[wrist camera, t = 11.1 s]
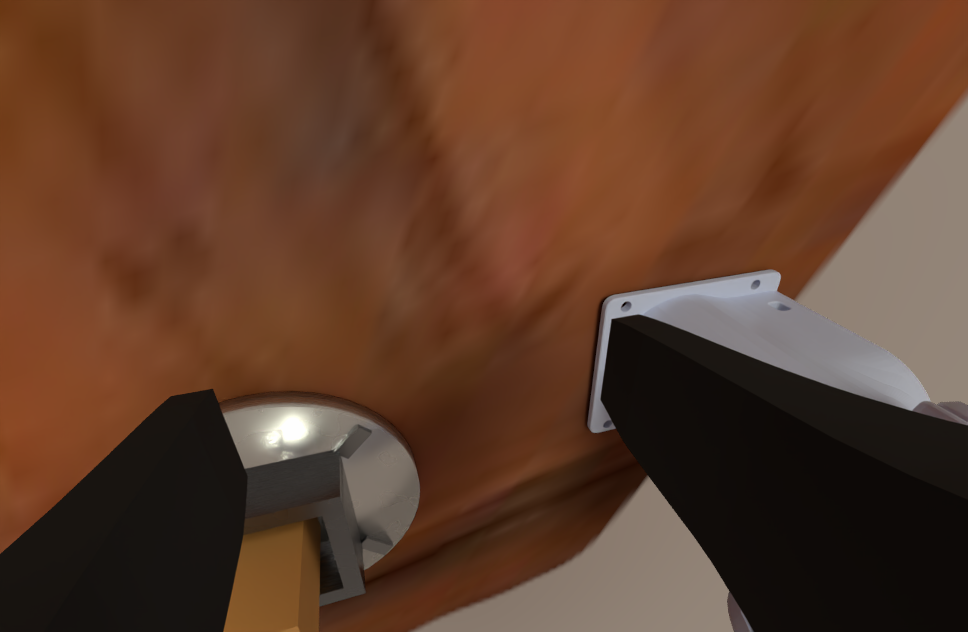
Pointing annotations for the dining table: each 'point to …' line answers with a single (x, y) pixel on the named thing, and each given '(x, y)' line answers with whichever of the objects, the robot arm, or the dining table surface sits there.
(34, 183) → the dining table surface
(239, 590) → the orange square peg
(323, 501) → the square-hole metal disc
